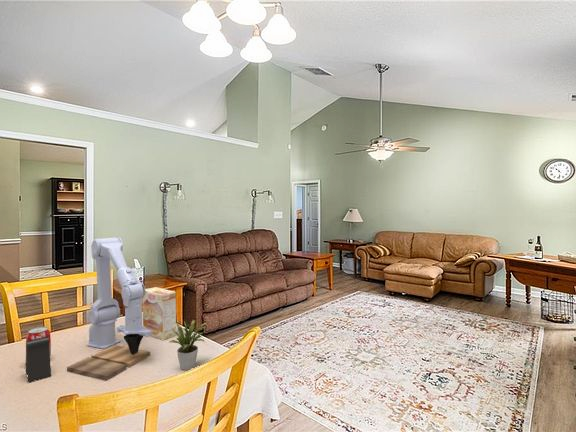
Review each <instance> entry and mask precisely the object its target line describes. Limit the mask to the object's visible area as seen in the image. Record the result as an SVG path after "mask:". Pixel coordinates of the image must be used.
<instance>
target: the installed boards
mask: <svg viewBox="0 0 576 432" xmlns="http://www.w3.org/2000/svg"><path fill="white" fill-rule="evenodd" d="M126 370H127V367H126V365H124V364H119V363H115V362H110V361H105V360H100V359H96V358H91V356H90V357H89V356H88V357H85V358H83V359H82V360H79V361H77V362H75V363H72V364H71V365H68V366H66V372H68V373H72V374H76V375H81V376H86V377H87V378H94V379H97V380H101V381H108V380H111V379H112V378H114V377H116V376H117V375H119V374H121V373H123V372H124V371H126Z"/></svg>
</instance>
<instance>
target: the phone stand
mask: <svg viewBox="0 0 576 432" xmlns="http://www.w3.org/2000/svg"><path fill="white" fill-rule="evenodd" d="M26 374H27V375H28V378H27V377H26V379H28V380H27V383H28V382H30V383H32V382H31V381H33V382H35V381H34V380H37V381H40V380H43V378H44V379H46V378H50V377H52V367H51V357H50V351H49V337H44V338H40V339H35V340H31V341H26V340H25V375H26ZM39 379H40V380H39Z"/></svg>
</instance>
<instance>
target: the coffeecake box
mask: <svg viewBox="0 0 576 432" xmlns="http://www.w3.org/2000/svg"><path fill="white" fill-rule="evenodd" d="M176 293H177V292H176V291H175V290H170V289H166V288H161V287H157V286H154V287H150V288H145V296H144V297H143V298H142V327H144V328H147V329H149V330H152V335H151V336H150V337H153V338H155V339H158V340H160V341H165V339H166V340H167V338H168V339H170V338H173V337H175V335H176V336H177V334H175V332H174V331H176V332H177V325H176V323H177V304H176V303H177V302H176V301H177V297H176V295H177V294H176ZM175 322H176V323H175ZM171 329H172V330H174V331H172V330H171Z"/></svg>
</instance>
